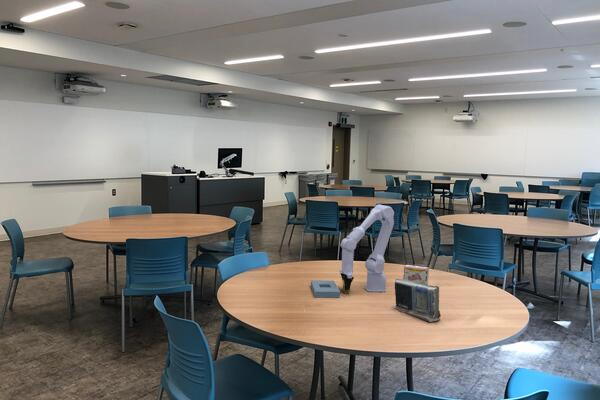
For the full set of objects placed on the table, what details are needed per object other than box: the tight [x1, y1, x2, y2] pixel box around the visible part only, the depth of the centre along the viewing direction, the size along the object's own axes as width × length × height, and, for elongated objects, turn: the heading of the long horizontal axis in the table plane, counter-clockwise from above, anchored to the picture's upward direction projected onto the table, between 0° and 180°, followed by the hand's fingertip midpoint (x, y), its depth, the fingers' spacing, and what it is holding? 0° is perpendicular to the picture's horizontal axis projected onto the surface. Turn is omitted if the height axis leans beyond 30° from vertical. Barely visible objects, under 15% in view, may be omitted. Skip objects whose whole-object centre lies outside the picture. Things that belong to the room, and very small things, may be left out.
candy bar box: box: [402, 264, 430, 285], centre depth 219 cm, size 11×5×16 cm, turn 65°
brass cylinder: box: [341, 280, 351, 294], centre depth 230 cm, size 4×4×6 cm
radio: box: [391, 278, 442, 323], centre depth 200 cm, size 23×9×15 cm, turn 27°
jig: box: [310, 279, 341, 299], centre depth 229 cm, size 12×20×3 cm, turn 5°
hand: (346, 288), depth 230 cm, fingers closed on brass cylinder, 4 cm apart
